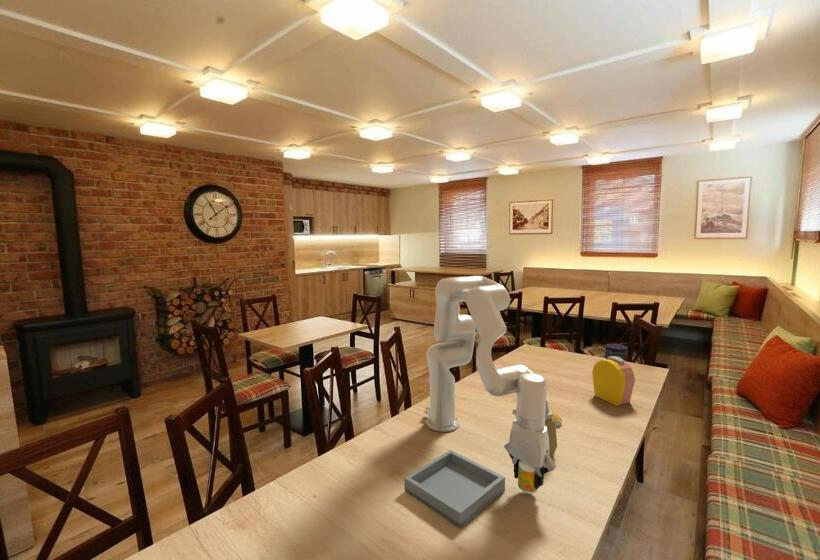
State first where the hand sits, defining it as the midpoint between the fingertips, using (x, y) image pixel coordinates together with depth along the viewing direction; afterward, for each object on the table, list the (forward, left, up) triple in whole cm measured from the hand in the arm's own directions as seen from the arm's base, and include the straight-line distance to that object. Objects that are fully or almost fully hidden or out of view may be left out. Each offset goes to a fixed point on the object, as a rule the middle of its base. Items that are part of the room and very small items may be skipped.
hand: (528, 480), depth 108 cm
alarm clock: (-5, +82, -4) cm, 82 cm away
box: (-15, -13, -4) cm, 21 cm away
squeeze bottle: (-6, +22, -4) cm, 23 cm away
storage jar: (-14, +113, -4) cm, 114 cm away
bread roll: (-15, +44, -4) cm, 46 cm away
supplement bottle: (0, 0, -2) cm, 2 cm away
